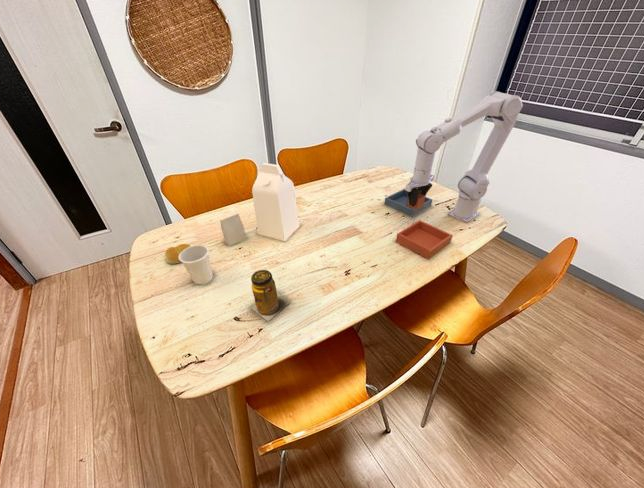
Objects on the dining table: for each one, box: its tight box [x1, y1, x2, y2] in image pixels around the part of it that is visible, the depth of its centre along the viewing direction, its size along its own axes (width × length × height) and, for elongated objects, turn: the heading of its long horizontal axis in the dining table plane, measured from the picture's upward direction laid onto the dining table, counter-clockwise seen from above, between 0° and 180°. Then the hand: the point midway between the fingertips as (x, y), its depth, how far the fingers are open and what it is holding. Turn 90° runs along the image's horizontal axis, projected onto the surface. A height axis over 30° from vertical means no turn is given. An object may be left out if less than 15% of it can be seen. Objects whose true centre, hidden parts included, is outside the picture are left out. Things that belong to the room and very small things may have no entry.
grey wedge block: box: [220, 213, 247, 247], centre depth 100 cm, size 4×7×10 cm, turn 131°
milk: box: [251, 162, 301, 242], centre depth 100 cm, size 12×12×26 cm
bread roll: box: [164, 243, 191, 264], centre depth 95 cm, size 8×9×4 cm
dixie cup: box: [179, 244, 214, 285], centre depth 84 cm, size 8×8×10 cm
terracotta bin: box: [395, 219, 454, 260], centre depth 99 cm, size 14×14×4 cm
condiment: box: [250, 269, 291, 322], centre depth 74 cm, size 7×8×12 cm
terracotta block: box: [407, 194, 427, 210], centre depth 105 cm, size 4×4×4 cm
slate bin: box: [383, 188, 433, 218], centre depth 120 cm, size 14×15×4 cm
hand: (415, 203), depth 105 cm, fingers closed on terracotta block, 4 cm apart
